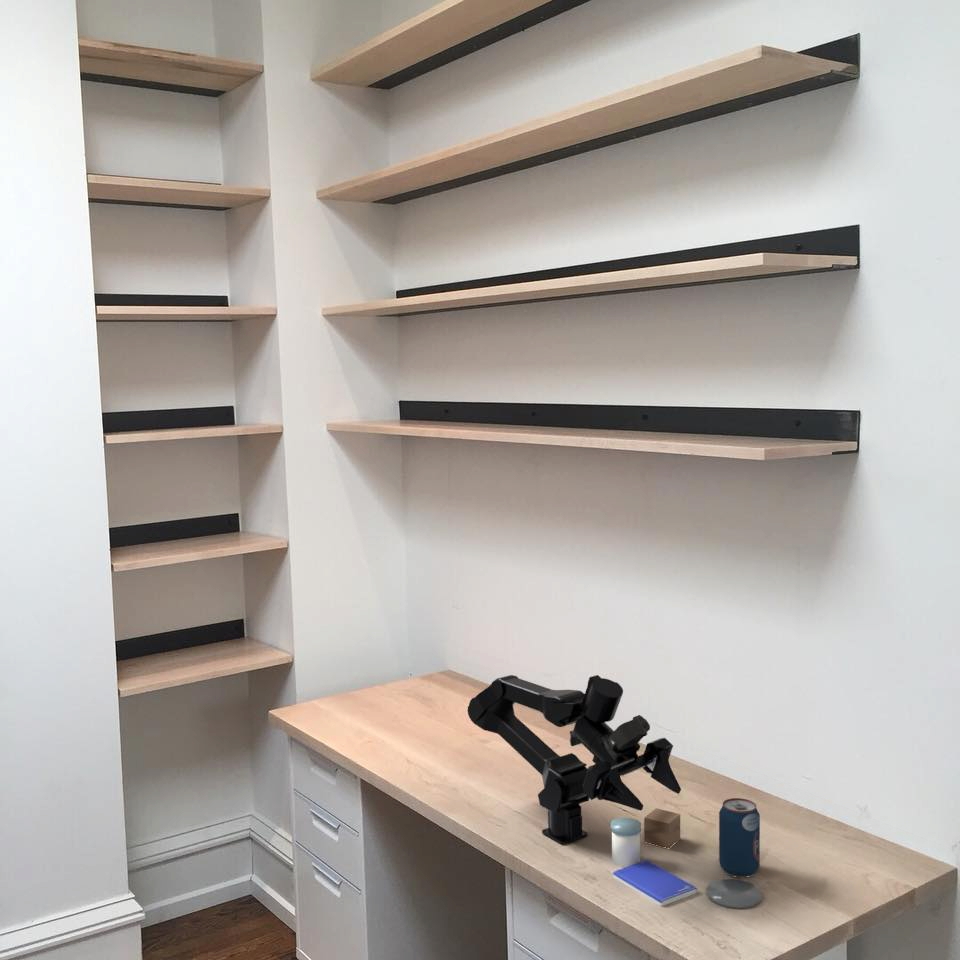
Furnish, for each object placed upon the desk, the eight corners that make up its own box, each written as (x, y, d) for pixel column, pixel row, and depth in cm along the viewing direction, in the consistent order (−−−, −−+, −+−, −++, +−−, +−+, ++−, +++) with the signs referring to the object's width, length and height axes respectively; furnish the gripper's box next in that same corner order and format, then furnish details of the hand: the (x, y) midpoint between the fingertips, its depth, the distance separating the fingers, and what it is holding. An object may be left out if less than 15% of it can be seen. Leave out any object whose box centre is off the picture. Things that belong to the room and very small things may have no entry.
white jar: (604, 859, 188) (604, 822, 187) (627, 851, 191) (626, 815, 190) (625, 871, 184) (624, 833, 183) (647, 862, 187) (647, 825, 186)
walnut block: (644, 843, 194) (644, 817, 194) (656, 833, 199) (656, 808, 198) (668, 849, 192) (668, 823, 191) (680, 839, 196) (680, 814, 195)
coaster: (695, 892, 175) (695, 889, 175) (731, 877, 180) (731, 873, 180) (736, 914, 168) (736, 910, 168) (773, 897, 173) (773, 894, 173)
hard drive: (697, 886, 175) (648, 859, 186) (661, 900, 171) (612, 871, 181) (697, 895, 175) (648, 867, 186) (661, 909, 171) (612, 879, 182)
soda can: (765, 878, 180) (765, 811, 179) (726, 880, 179) (726, 813, 178) (751, 860, 187) (751, 795, 185) (713, 862, 186) (713, 797, 185)
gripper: (573, 721, 179) (634, 781, 169) (650, 693, 190) (711, 748, 179) (559, 769, 184) (617, 830, 174) (634, 740, 195) (693, 796, 184)
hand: (661, 799), depth 178 cm, fingers open, 9 cm apart
